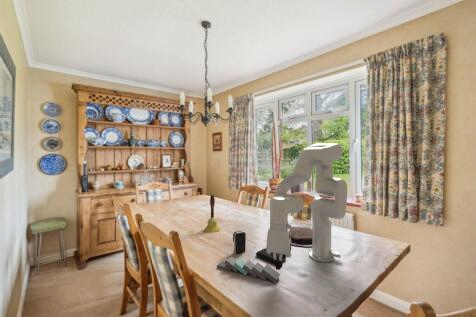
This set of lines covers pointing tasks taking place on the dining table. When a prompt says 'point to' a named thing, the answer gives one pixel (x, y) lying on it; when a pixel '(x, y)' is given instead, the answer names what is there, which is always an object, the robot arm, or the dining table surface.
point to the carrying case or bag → (266, 256)
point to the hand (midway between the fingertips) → (278, 268)
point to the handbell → (212, 219)
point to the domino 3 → (240, 266)
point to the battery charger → (239, 241)
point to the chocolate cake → (301, 236)
